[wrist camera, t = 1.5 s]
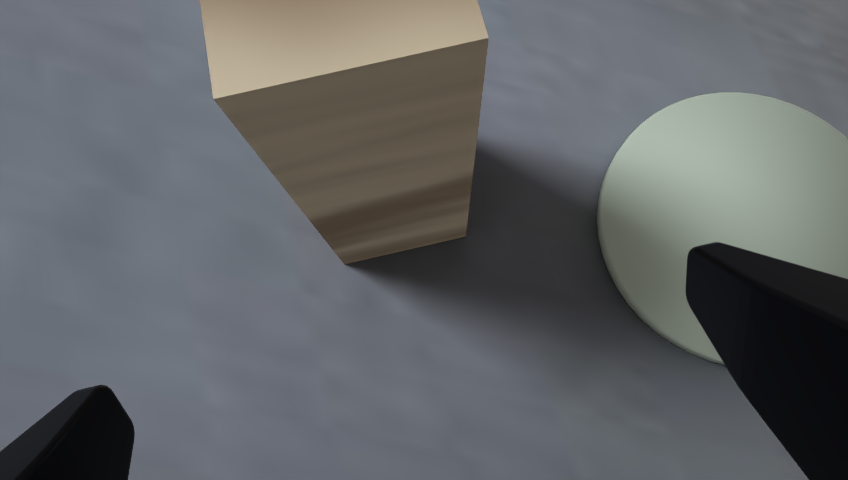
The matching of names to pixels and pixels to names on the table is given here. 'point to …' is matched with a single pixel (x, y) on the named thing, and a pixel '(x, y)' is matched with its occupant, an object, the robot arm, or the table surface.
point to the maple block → (357, 110)
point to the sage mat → (720, 200)
